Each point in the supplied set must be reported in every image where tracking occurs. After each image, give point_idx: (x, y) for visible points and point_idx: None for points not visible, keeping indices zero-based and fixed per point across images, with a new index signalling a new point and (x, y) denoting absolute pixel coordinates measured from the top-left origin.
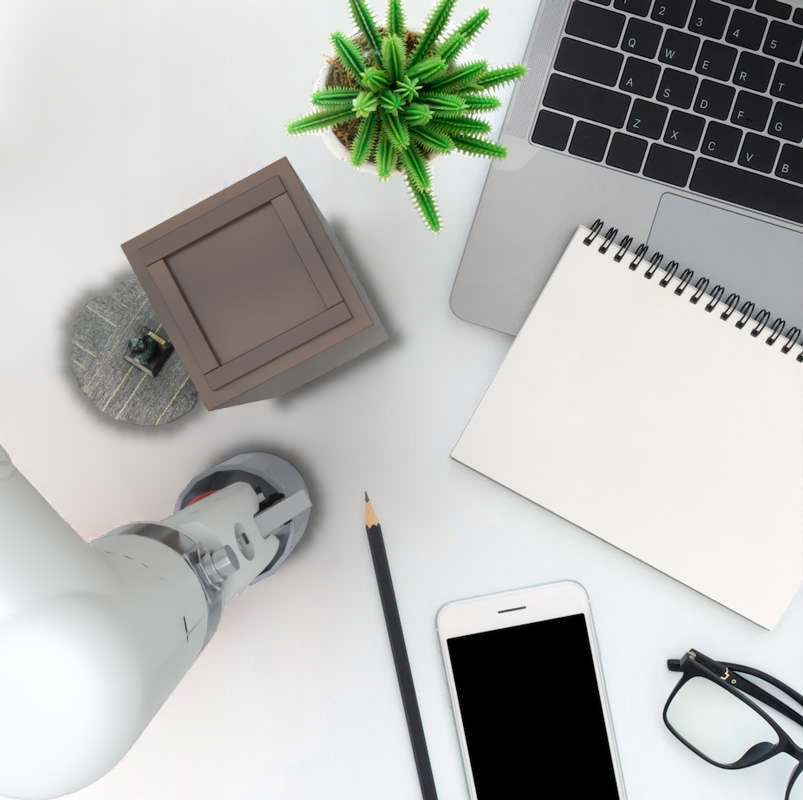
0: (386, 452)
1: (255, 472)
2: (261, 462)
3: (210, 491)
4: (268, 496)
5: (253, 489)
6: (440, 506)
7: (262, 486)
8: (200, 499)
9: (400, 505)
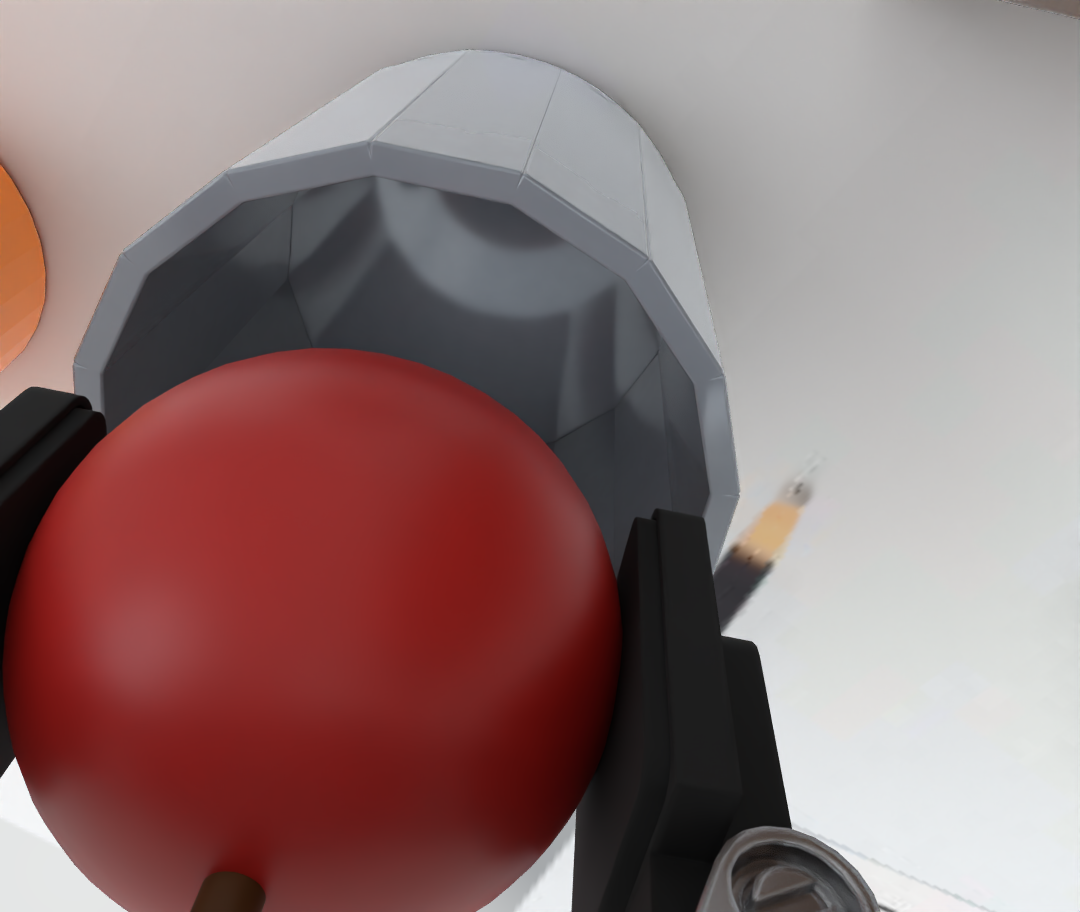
0: (980, 417)
1: (687, 352)
2: (678, 239)
3: (442, 411)
4: (771, 720)
5: (683, 549)
6: (956, 636)
7: (548, 235)
8: (354, 478)
9: (867, 565)
